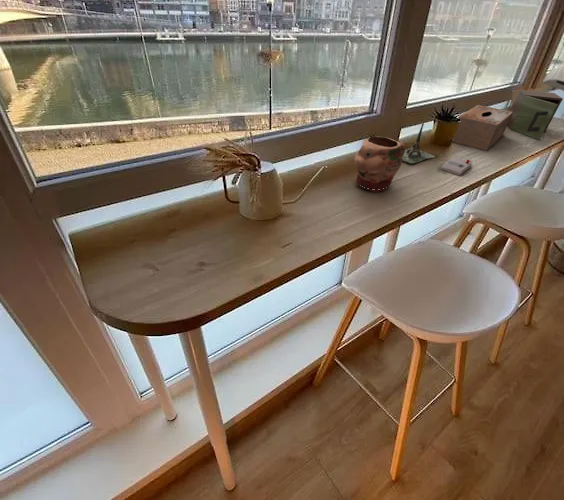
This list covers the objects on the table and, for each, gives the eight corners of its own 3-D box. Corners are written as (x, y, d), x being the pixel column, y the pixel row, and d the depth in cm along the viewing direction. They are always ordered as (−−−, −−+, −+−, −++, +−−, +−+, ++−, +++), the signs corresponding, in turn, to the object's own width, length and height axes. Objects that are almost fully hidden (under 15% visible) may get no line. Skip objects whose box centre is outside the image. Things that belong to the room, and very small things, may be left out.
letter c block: (528, 140, 140) (546, 105, 131) (500, 129, 150) (515, 96, 142) (539, 139, 142) (558, 104, 133) (511, 128, 152) (526, 95, 143)
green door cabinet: (544, 132, 150) (563, 98, 141) (510, 128, 153) (525, 95, 144) (537, 125, 158) (554, 92, 149) (504, 121, 161) (519, 89, 152)
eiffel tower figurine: (413, 148, 129) (423, 112, 120) (435, 156, 123) (448, 120, 114) (388, 155, 122) (397, 119, 113) (411, 165, 115) (422, 127, 107)
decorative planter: (380, 169, 112) (389, 128, 103) (410, 182, 105) (423, 140, 96) (339, 184, 102) (346, 140, 93) (369, 200, 95) (380, 154, 86)
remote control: (438, 170, 113) (441, 162, 111) (455, 158, 122) (459, 150, 120) (457, 177, 109) (461, 168, 107) (474, 164, 118) (477, 156, 116)
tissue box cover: (486, 150, 129) (497, 125, 123) (449, 141, 136) (458, 116, 130) (502, 135, 144) (513, 111, 138) (469, 127, 152) (477, 104, 145)
